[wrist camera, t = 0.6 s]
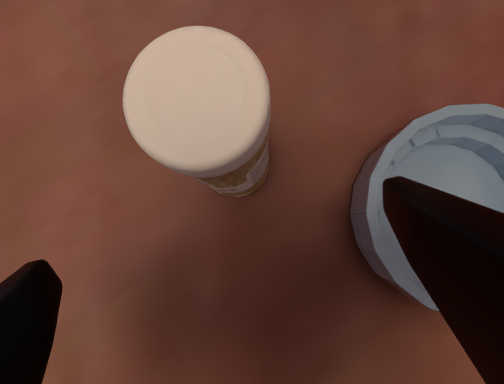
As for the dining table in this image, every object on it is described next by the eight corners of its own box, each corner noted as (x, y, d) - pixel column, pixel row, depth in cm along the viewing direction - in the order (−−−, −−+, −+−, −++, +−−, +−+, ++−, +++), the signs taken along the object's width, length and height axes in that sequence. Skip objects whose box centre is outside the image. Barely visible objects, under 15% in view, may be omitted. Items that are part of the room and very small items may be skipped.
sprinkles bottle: (191, 181, 24) (91, 132, 11) (220, 120, 24) (157, -4, 11) (253, 209, 24) (231, 195, 10) (282, 147, 24) (296, 53, 11)
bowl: (567, 217, 23) (640, 216, 18) (434, 339, 22) (475, 369, 18) (439, 90, 24) (479, 60, 19) (312, 206, 24) (321, 202, 19)
